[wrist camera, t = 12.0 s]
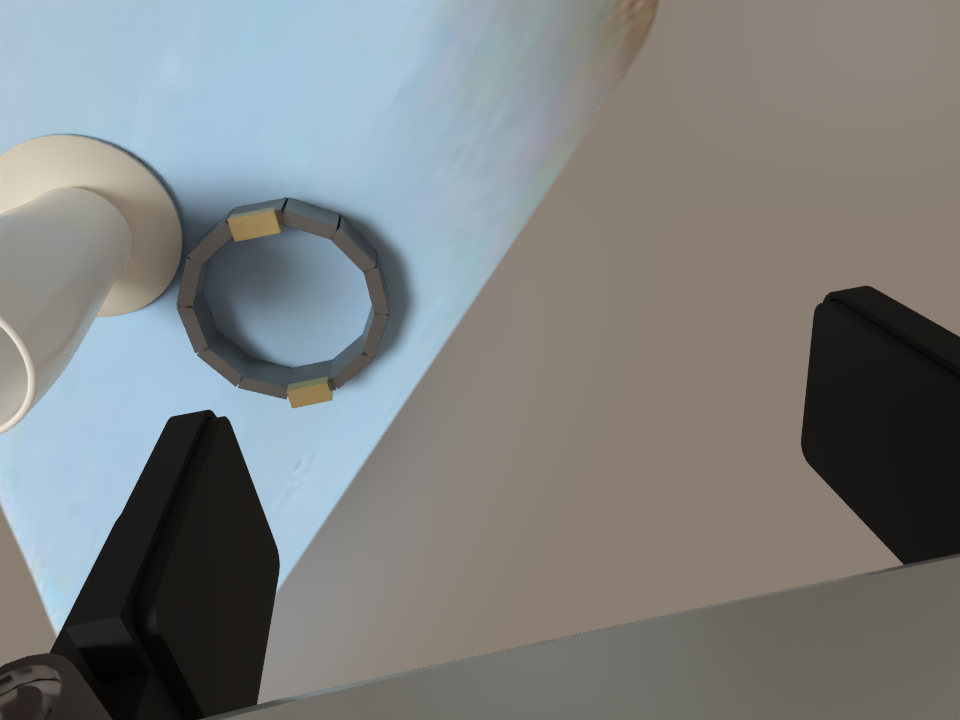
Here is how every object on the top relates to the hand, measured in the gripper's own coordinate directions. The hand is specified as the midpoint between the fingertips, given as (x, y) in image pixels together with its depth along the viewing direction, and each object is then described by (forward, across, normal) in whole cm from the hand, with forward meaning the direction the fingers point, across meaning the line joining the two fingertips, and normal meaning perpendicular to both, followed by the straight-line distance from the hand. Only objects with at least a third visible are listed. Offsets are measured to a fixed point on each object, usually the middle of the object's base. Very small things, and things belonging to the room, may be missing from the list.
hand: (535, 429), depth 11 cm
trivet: (+30, +19, +2) cm, 36 cm away
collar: (+30, +9, +8) cm, 33 cm away
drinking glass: (+30, +19, +2) cm, 35 cm away
